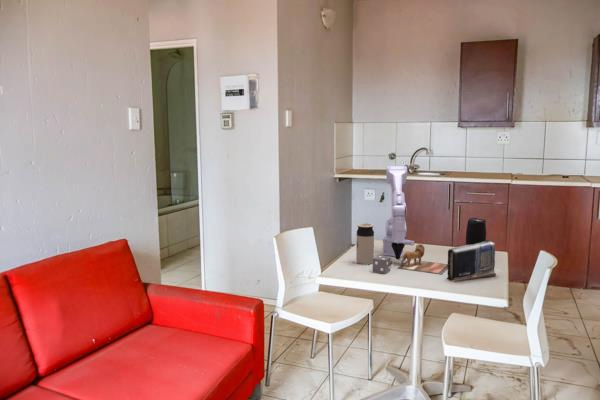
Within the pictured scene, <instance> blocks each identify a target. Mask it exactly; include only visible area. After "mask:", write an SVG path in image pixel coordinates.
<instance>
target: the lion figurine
mask: <svg viewBox="0 0 600 400" xmlns="http://www.w3.org/2000/svg"><path fill="white" fill-rule="evenodd" d="M403 253H404V255H403V256H402V260H401V261H400V265H401V266H402V267H403V266H404V265H403V263H404V262H406V261H407V260H408V265H409V266H410V267H412V265H410V261H411V260H414V264H416V260H417V259H418V261H419V265H422V264H421V261H422V258H423V257H424V255H425V246H424V244H422V243H418V244H416V246H415V250H413V251H405V252H403ZM406 259H407V260H406Z"/></svg>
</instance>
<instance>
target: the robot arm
mask: <svg viewBox="0 0 600 400" xmlns="http://www.w3.org/2000/svg"><path fill="white" fill-rule="evenodd" d="M385 176H386V183H387V184H389V185H390V189H391V217H390V218H388V219H387V220H386V222H385V236H384V237H383V238H382V255H381V256H386V257H395V260H400V259H401V258H403V255H404V253H405V252H404V248H405V246H411V247H413V246H415V240H410V239H406V238H405V237H407V222H406V217H407V211H408V209H407V205H406V200H405V199H406V198H405V192H403V191H402V190H403V185H404V184H406V182H407V178H408V167H407V166H406V165H387V166H386V175H385Z"/></svg>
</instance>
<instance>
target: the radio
mask: <svg viewBox="0 0 600 400" xmlns="http://www.w3.org/2000/svg"><path fill="white" fill-rule="evenodd" d="M495 258H496V243H495V242H493V241H491V240H489V239H486V241H484V242H480V243H476V244H470V245H466V244H465V245H460V246H455V247H454V246H453V247H451V248H449V249H448V250H447V264H448V269H447V277H446V280H448V281H450V283H454V282H462V281H466V280H467V281H469V280H474V279H481V278H486V277H487V278H488V277H493V276H497V274H496V272H495V266H496V265H495V264H496V259H495Z"/></svg>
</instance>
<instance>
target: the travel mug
mask: <svg viewBox="0 0 600 400" xmlns="http://www.w3.org/2000/svg"><path fill="white" fill-rule="evenodd" d="M356 226H357V230H356V263H357V264H360V265H371V264H373V258H375V257H374V256H375V254H374V252H375V251H374V249H375V248H374V247H375V231H374V229H373V227H374V224H373V223H368V222H366V223H365V222H364V223H363V222H362V223H357V224H356Z"/></svg>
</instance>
